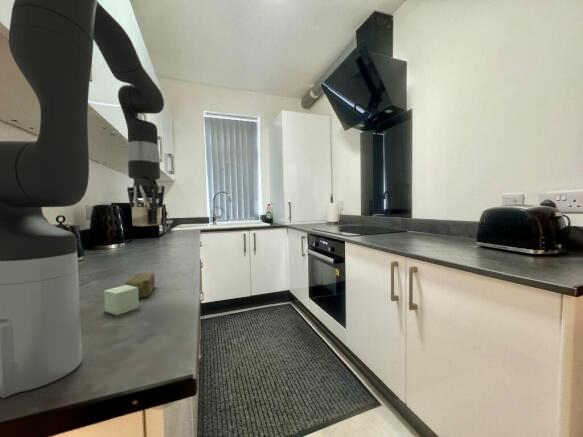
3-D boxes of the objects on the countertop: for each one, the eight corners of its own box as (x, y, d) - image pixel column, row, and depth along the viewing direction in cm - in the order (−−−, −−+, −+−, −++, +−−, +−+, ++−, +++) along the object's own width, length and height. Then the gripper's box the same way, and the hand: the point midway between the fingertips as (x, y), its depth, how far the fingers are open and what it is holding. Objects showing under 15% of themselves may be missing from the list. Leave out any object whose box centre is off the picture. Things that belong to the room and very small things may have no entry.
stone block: (124, 301, 68) (123, 282, 67) (134, 289, 78) (133, 272, 78) (149, 298, 70) (148, 279, 69) (155, 286, 80) (154, 270, 80)
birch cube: (143, 226, 68) (142, 207, 67) (132, 225, 70) (131, 207, 70) (160, 224, 72) (160, 206, 72) (150, 224, 74) (149, 207, 74)
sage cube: (116, 315, 58) (115, 293, 58) (105, 311, 61) (104, 290, 60) (138, 308, 63) (138, 287, 62) (127, 304, 65) (126, 284, 65)
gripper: (115, 161, 70) (118, 224, 71) (145, 156, 63) (148, 225, 64) (142, 165, 77) (145, 222, 78) (173, 160, 70) (175, 223, 71)
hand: (146, 223), depth 71 cm, fingers closed on birch cube, 5 cm apart
